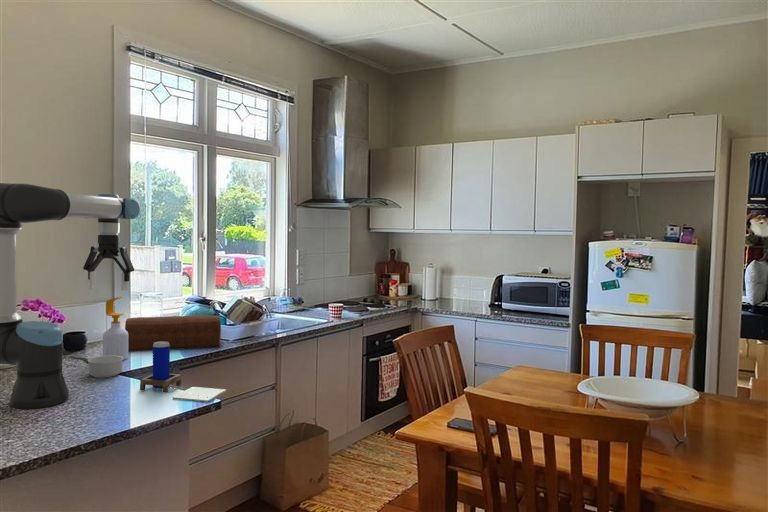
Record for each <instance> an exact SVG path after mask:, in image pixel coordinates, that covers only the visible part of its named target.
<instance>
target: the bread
mask: <svg viewBox="0 0 768 512" xmlns="http://www.w3.org/2000/svg"><path fill="white" fill-rule="evenodd" d="M124 329H125V330H126V331H127V332H128V352H130V351H135V352H137V351H153V344H154V343H155V342H159V341H166V342H169V345H170V350H172V349H173V350H174V349H175V350H177V349H195V348H196V349H197V348H215V347H221V345H222V333H221V332H222V322H221V317H220V315H212V314H211V315H210V314H208V315H172V316H171V315H170V316H144V317H143V316H141V317H140V316H139V317H129V318H127V319H125V325H124Z"/></svg>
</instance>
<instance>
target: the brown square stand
mask: <svg viewBox="0 0 768 512" xmlns="http://www.w3.org/2000/svg"><path fill="white" fill-rule="evenodd" d="M139 381H140V384H139V391H140V390H144V391H146V390H145V389H146V387H147V386H152V387H153V386H163V390H162V393H163V392H167V393H169V387H168V385H169V386H170V385H172V384H175V385H176V387H181V386H182V374H179V373H178V374H177V373H170V378H169V379H167V380H165V381H164V380H153V373H152V374H150V375H148V376H146V377H143V378H141V379H140V380H139Z"/></svg>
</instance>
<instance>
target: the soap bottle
mask: <svg viewBox="0 0 768 512" xmlns="http://www.w3.org/2000/svg"><path fill="white" fill-rule="evenodd" d="M122 298H123V297H122V296H120V297H119V296H118V297H114V298H111V299H107V300H106V302H105V314H106V316H107V317H108V316H109V317H111V318H112V319H113V320H111V321H110V327H109V328H108V329H106V330H105V331H104V332H103V334H102V356H121V357H123V359H122V361H125V360H128V358H129V351H128V332H127V331H126V330H125V328H123V327H121V321H120V320H119V318H120V317H122V316H123V315H124V313H116V312H115V311H114V307H115V306H114V305H115V304H114V303H115V301H116V300H119V299H122Z"/></svg>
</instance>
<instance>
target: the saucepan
mask: <svg viewBox="0 0 768 512" xmlns="http://www.w3.org/2000/svg"><path fill="white" fill-rule="evenodd" d="M69 359H72V360H79V361H83V362H84V363H85V364H87V365H88V375H89V376H92V377H94V378H111V377H114V376H118V375H119V374H120V373H122V372H123V360H122V359H123V357H121V356H103V355H100V356H99V355H98V356H94V357H91V358H87V357H83V356H73V355H71V356H69Z"/></svg>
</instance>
